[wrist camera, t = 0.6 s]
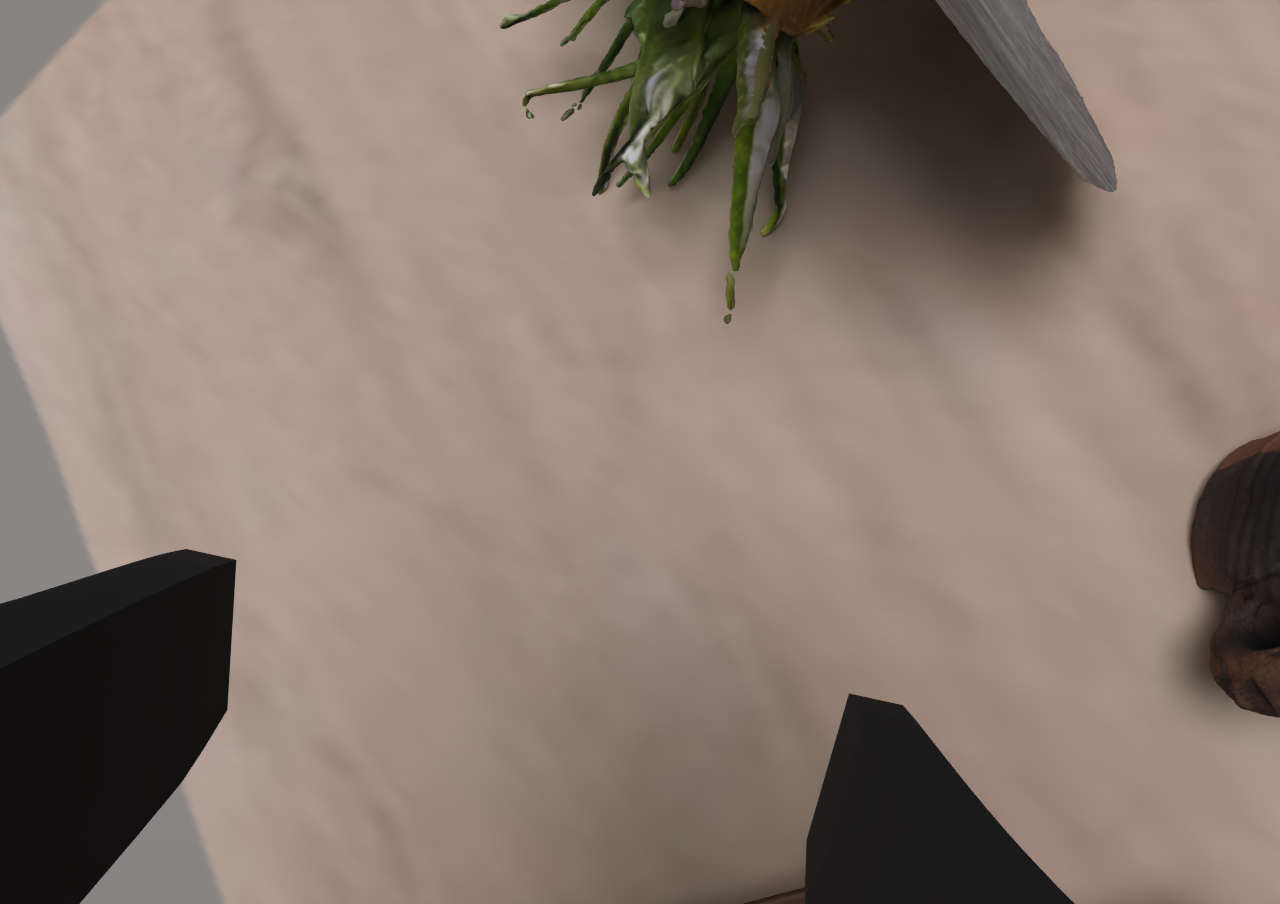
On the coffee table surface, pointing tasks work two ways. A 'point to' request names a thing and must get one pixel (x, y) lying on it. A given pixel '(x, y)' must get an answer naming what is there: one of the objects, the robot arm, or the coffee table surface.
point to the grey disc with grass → (794, 88)
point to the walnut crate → (784, 898)
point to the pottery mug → (1244, 572)
